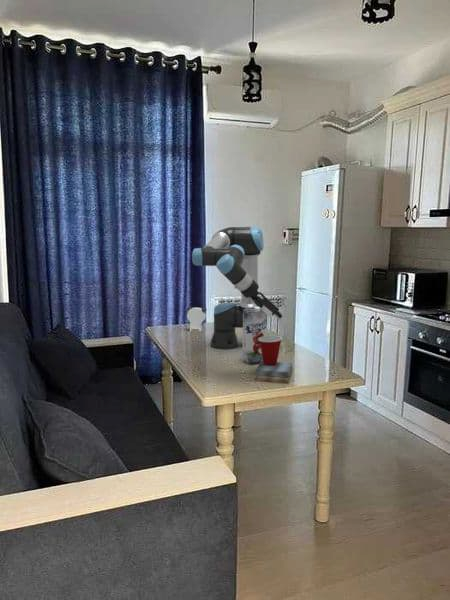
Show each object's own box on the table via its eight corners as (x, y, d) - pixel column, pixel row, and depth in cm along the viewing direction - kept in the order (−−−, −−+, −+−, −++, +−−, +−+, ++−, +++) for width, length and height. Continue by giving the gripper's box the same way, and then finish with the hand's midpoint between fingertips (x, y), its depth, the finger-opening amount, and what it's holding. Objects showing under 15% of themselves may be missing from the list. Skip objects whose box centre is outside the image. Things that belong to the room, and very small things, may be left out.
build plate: (254, 380, 195) (254, 371, 194) (262, 367, 214) (262, 358, 213) (288, 383, 191) (288, 374, 191) (292, 369, 211) (292, 361, 210)
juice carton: (240, 360, 225) (241, 305, 220) (259, 358, 229) (260, 304, 225) (248, 365, 217) (249, 308, 212) (268, 362, 221) (269, 307, 216)
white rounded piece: (208, 329, 291) (208, 306, 289) (203, 333, 280) (203, 309, 278) (190, 328, 294) (189, 305, 291) (184, 332, 283) (184, 308, 280)
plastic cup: (255, 360, 210) (255, 334, 208) (278, 360, 211) (279, 334, 210) (259, 367, 199) (260, 340, 198) (284, 367, 201) (285, 340, 199)
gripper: (231, 288, 204) (262, 319, 211) (250, 296, 180) (284, 331, 187) (242, 275, 205) (273, 307, 211) (263, 282, 181) (297, 318, 188)
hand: (278, 319), depth 199 cm, fingers open, 13 cm apart
